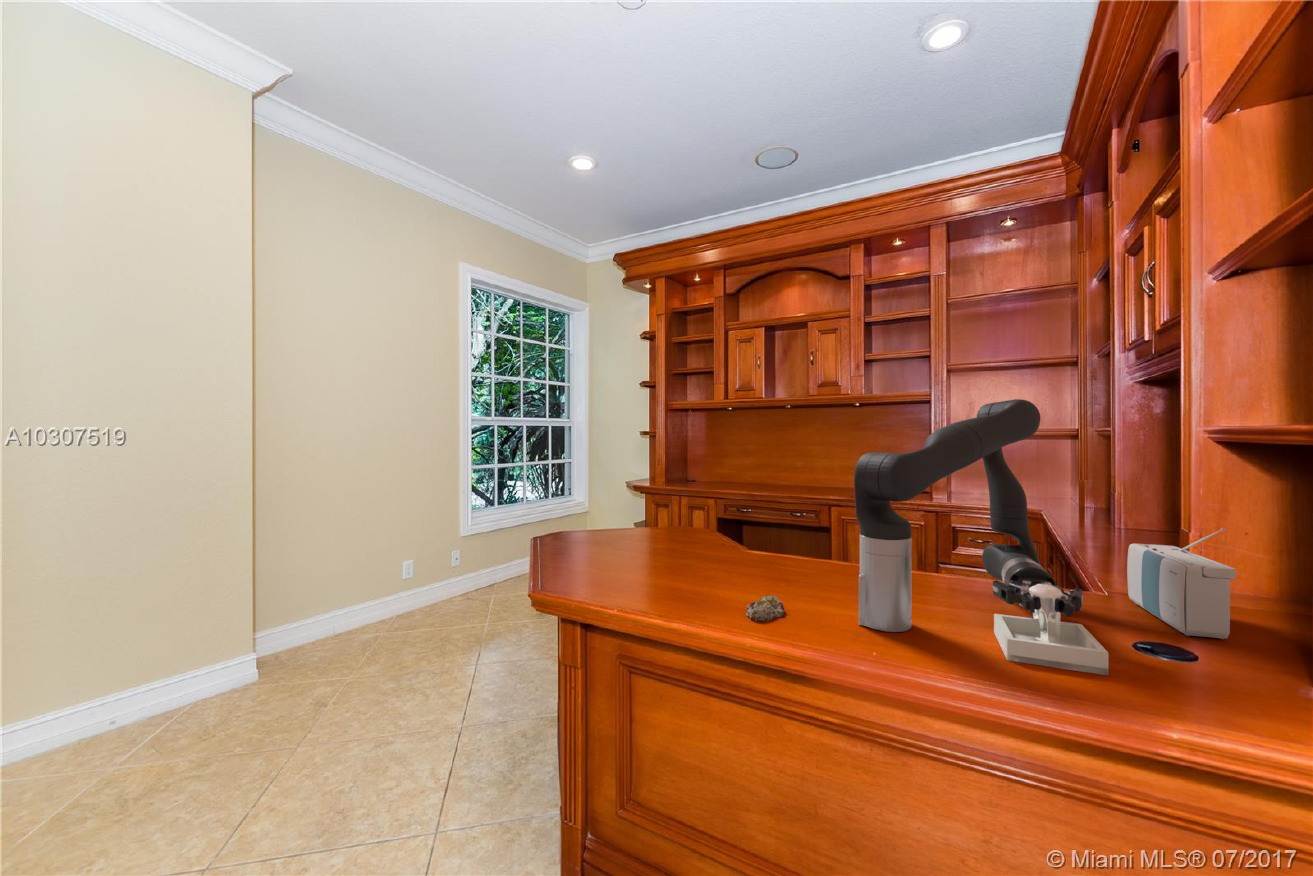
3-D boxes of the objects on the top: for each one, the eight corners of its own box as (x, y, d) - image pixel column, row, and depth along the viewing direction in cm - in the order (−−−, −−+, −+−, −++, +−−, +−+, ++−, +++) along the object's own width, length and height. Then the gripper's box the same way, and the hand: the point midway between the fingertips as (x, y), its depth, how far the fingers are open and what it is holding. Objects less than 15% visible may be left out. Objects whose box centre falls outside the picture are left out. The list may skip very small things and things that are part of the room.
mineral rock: (752, 593, 115) (787, 588, 111) (758, 613, 115) (792, 609, 111) (732, 608, 106) (769, 604, 102) (738, 630, 106) (775, 627, 102)
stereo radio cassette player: (1125, 602, 114) (1125, 510, 114) (1173, 606, 111) (1174, 512, 111) (1178, 637, 95) (1179, 527, 95) (1239, 644, 92) (1241, 530, 92)
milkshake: (1021, 633, 92) (1018, 576, 92) (1056, 634, 91) (1053, 577, 90) (1032, 644, 88) (1029, 584, 87) (1069, 645, 86) (1066, 585, 86)
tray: (1007, 660, 86) (1007, 639, 86) (994, 632, 98) (994, 613, 98) (1108, 675, 80) (1108, 652, 80) (1081, 644, 92) (1081, 624, 92)
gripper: (984, 558, 105) (999, 581, 89) (1072, 565, 99) (1105, 591, 83) (983, 595, 105) (998, 625, 89) (1072, 605, 99) (1105, 638, 83)
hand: (1050, 608), depth 86 cm, fingers closed on milkshake, 4 cm apart
